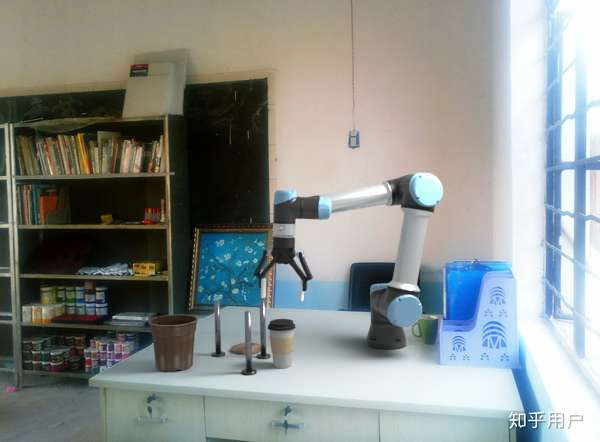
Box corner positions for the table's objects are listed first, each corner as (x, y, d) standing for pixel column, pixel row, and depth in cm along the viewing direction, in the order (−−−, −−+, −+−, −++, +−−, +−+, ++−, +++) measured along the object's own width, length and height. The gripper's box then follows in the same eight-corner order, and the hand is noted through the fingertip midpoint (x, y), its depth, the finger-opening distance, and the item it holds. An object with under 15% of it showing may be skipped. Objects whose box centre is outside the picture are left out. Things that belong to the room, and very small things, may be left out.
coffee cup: (293, 370, 173) (292, 325, 172) (265, 369, 174) (264, 324, 174) (299, 361, 182) (298, 318, 181) (272, 360, 184) (271, 317, 183)
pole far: (227, 353, 194) (225, 298, 193) (222, 357, 189) (220, 301, 188) (214, 352, 195) (212, 298, 194) (209, 356, 190) (207, 301, 189)
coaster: (267, 346, 202) (267, 343, 202) (258, 355, 190) (258, 352, 190) (237, 344, 205) (237, 342, 204) (226, 353, 193) (226, 351, 193)
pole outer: (258, 370, 174) (257, 310, 173) (254, 375, 169) (252, 313, 168) (244, 369, 175) (242, 309, 174) (239, 374, 170) (237, 313, 169)
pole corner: (272, 355, 190) (270, 299, 189) (268, 359, 185) (267, 302, 184) (258, 354, 191) (257, 299, 190) (254, 358, 186) (253, 302, 185)
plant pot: (206, 360, 186) (205, 314, 185) (187, 375, 170) (186, 325, 170) (163, 358, 189) (162, 313, 189) (141, 373, 174) (139, 324, 173)
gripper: (245, 235, 178) (243, 298, 179) (317, 238, 171) (315, 304, 172) (253, 234, 185) (251, 294, 186) (322, 237, 178) (320, 300, 179)
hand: (282, 299), depth 179 cm, fingers open, 13 cm apart
